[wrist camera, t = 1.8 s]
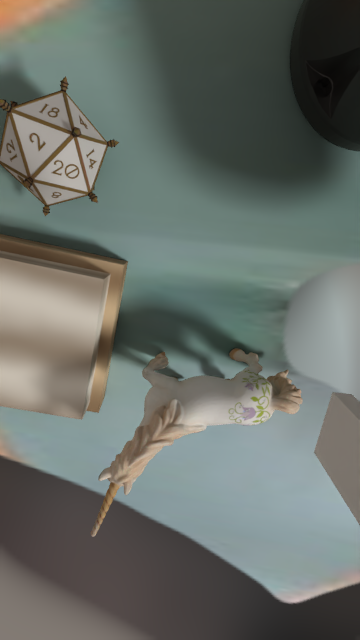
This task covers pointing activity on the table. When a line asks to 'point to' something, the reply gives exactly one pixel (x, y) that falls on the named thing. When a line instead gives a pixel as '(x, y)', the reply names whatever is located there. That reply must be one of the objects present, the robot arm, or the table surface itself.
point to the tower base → (56, 326)
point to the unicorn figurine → (195, 413)
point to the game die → (52, 148)
